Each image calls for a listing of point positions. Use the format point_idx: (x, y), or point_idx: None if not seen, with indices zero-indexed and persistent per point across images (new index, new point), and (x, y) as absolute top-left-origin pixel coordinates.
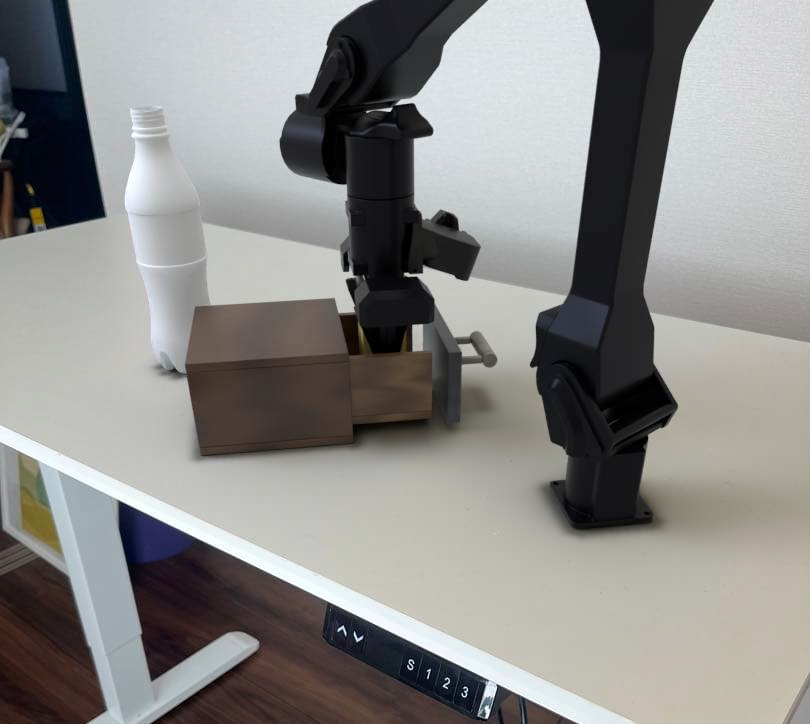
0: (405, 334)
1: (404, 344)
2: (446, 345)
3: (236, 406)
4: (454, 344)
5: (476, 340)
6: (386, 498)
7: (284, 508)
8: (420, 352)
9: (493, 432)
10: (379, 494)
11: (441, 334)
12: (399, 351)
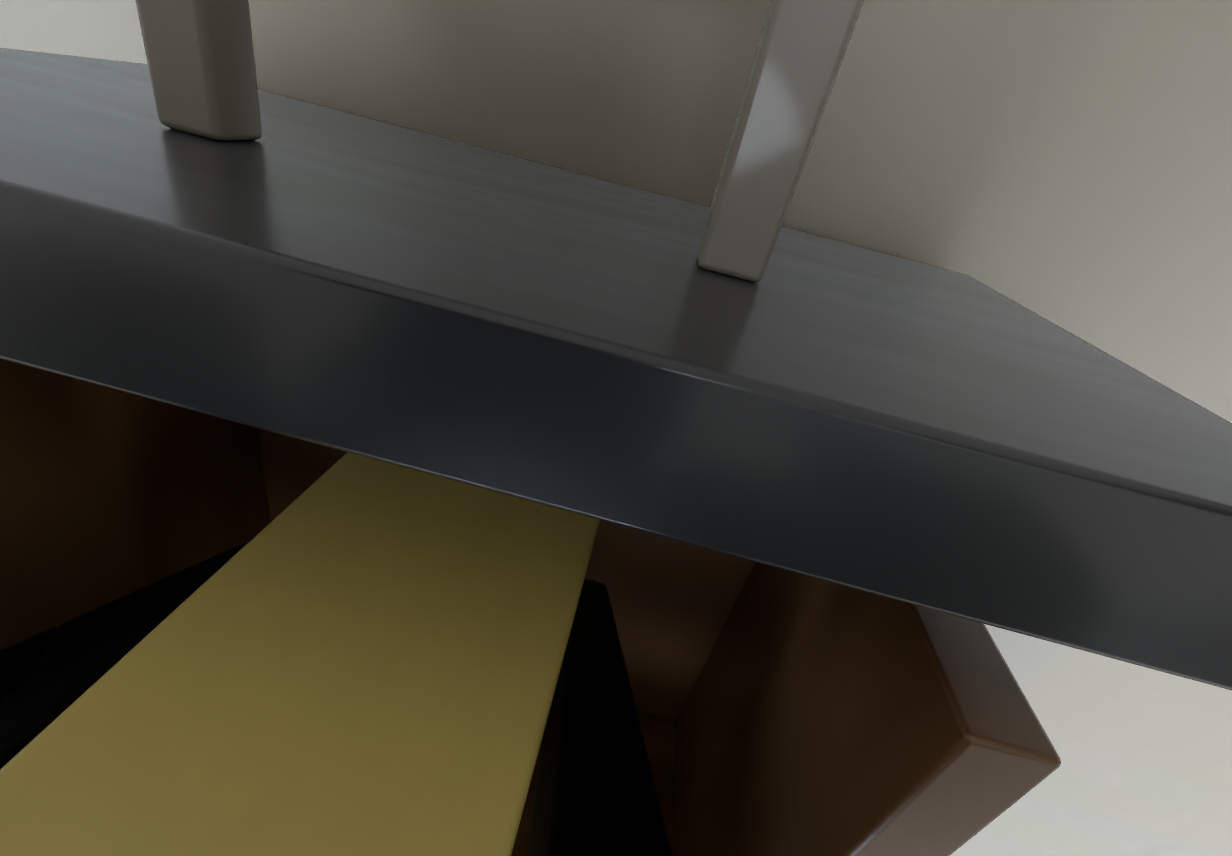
0: (527, 786)
1: (552, 698)
2: (1072, 635)
3: None
4: (1136, 540)
5: None
6: (1175, 691)
7: (993, 838)
8: (950, 811)
9: (1095, 69)
10: (1134, 695)
11: (637, 505)
12: (643, 741)
